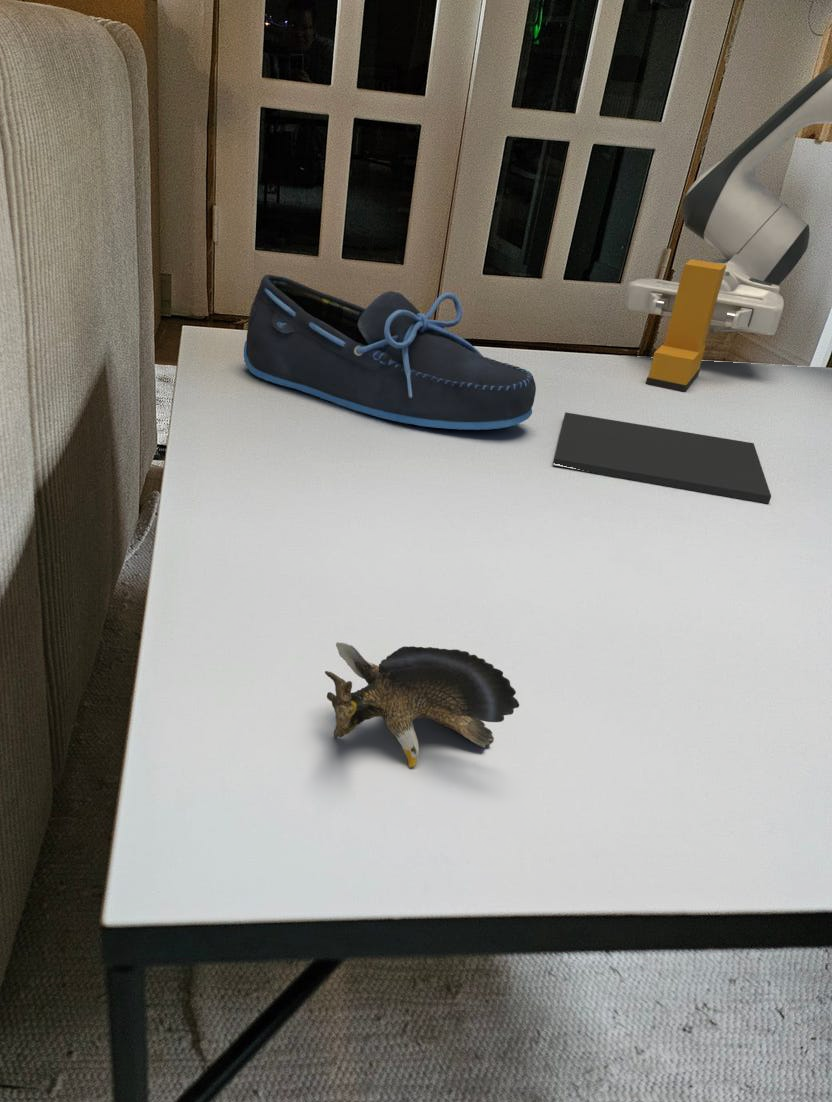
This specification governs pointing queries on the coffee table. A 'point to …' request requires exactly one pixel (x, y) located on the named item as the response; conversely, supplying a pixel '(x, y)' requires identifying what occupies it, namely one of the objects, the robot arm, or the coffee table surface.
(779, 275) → the robot arm
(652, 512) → the coffee table surface
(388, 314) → the moccasin
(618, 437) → the shoe mat
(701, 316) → the boot
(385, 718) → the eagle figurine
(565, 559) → the coffee table surface
